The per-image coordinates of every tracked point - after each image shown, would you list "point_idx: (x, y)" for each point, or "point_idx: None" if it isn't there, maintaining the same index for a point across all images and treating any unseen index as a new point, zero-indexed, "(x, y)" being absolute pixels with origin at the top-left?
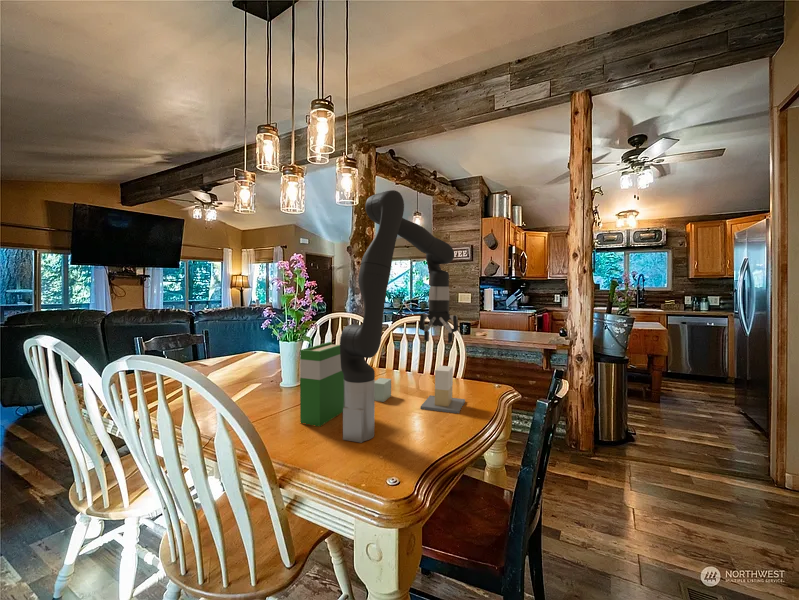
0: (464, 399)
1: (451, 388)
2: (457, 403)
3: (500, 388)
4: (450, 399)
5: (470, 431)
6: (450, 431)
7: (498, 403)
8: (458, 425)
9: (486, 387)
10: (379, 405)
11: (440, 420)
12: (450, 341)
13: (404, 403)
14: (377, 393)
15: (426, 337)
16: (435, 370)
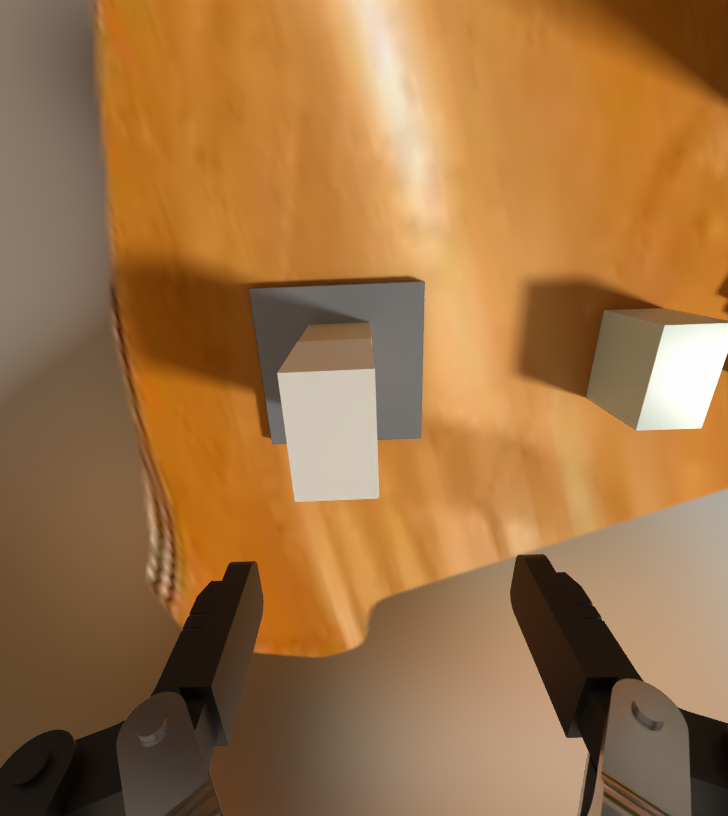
0: (273, 440)
1: None
2: None
3: None
4: None
5: (130, 72)
6: (210, 27)
7: (153, 467)
8: (205, 132)
9: None
10: (615, 253)
11: (299, 165)
12: (223, 583)
13: (508, 325)
14: (661, 314)
15: (556, 592)
16: (373, 368)
